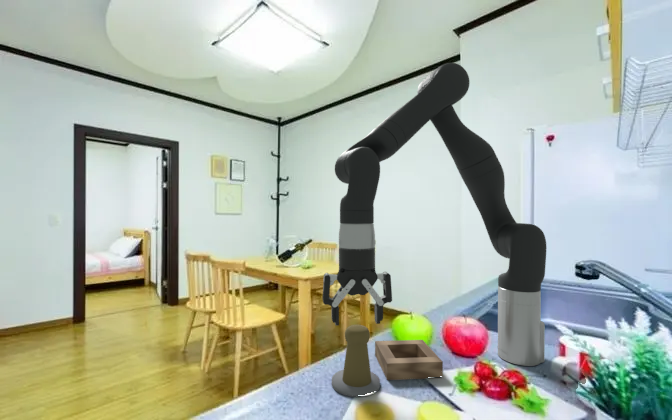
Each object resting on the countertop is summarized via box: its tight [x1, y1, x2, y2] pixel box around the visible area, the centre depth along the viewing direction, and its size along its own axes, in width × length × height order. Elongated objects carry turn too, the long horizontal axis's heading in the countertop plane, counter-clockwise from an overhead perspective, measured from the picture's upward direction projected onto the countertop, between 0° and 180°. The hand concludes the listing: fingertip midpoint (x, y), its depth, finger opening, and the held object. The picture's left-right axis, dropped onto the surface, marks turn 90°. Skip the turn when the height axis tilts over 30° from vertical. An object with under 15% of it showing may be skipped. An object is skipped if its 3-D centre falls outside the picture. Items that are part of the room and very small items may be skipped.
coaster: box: [331, 369, 381, 398], centre depth 68 cm, size 10×10×1 cm
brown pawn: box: [342, 324, 372, 387], centre depth 68 cm, size 6×6×11 cm
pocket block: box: [374, 339, 444, 381], centre depth 76 cm, size 12×12×4 cm
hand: (357, 323), depth 68 cm, fingers open, 8 cm apart
